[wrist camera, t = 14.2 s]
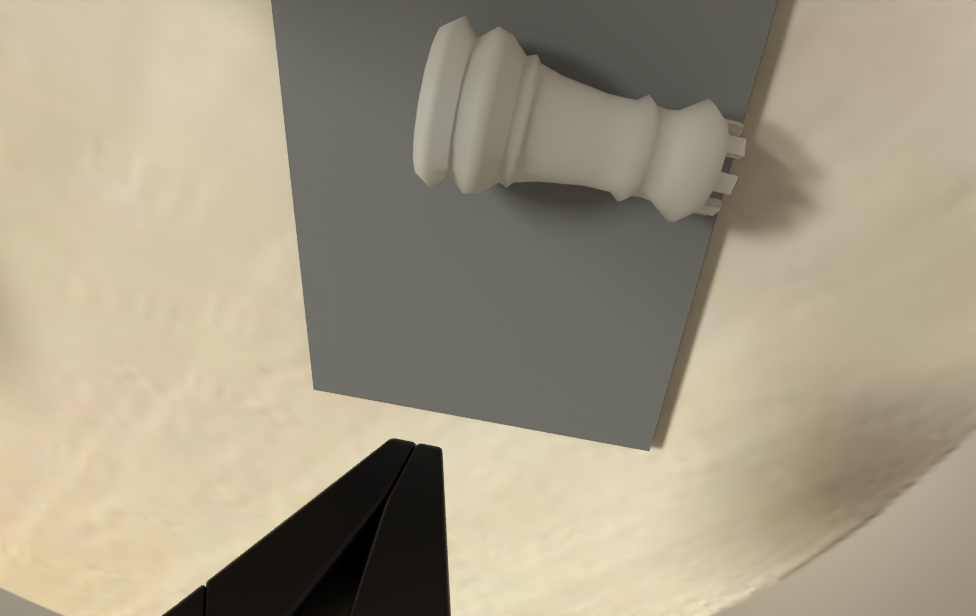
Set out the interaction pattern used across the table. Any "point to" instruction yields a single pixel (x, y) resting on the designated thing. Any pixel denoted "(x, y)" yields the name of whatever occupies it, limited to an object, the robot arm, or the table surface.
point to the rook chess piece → (561, 130)
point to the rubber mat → (497, 215)
